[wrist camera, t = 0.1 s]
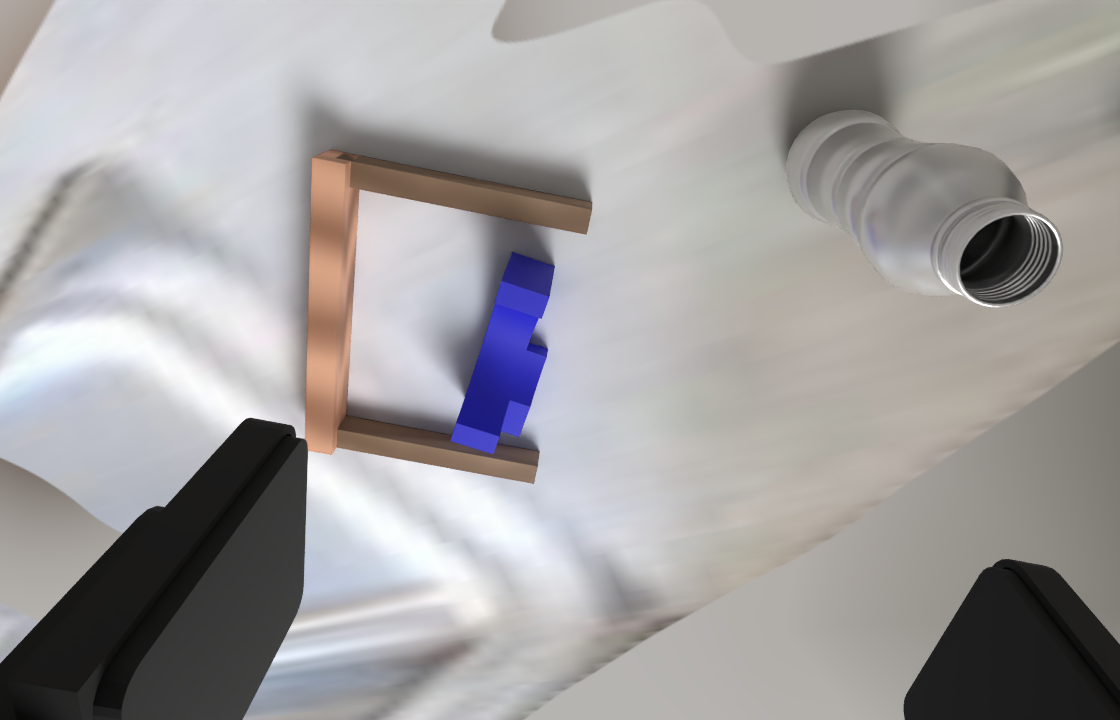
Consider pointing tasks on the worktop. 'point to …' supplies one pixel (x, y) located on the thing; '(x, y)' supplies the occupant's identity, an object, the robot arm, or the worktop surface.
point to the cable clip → (507, 358)
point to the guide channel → (334, 302)
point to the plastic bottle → (924, 210)
